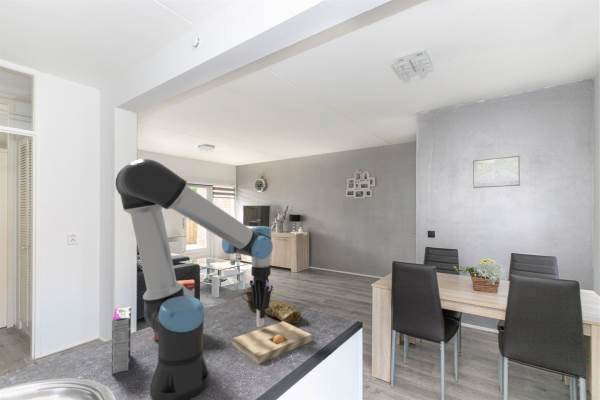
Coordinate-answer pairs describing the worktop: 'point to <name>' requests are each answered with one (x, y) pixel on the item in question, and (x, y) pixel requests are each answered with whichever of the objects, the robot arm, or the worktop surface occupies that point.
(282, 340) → the ball
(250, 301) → the ceramic cup
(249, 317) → the worktop surface
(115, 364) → the candy bar box
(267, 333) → the board
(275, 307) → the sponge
